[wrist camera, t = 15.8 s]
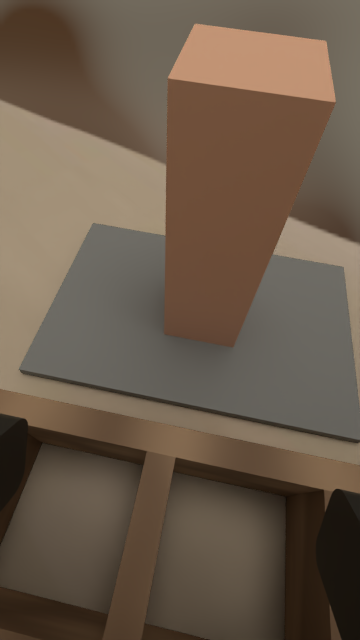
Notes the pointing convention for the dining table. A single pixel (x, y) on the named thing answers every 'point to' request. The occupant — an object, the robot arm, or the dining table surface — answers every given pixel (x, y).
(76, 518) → the dining table surface
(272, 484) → the stand
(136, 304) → the mat
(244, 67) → the block
